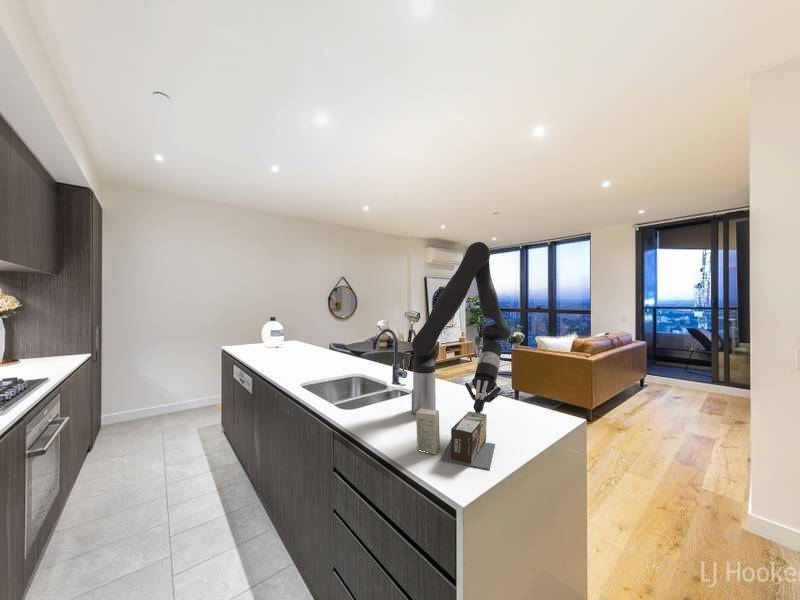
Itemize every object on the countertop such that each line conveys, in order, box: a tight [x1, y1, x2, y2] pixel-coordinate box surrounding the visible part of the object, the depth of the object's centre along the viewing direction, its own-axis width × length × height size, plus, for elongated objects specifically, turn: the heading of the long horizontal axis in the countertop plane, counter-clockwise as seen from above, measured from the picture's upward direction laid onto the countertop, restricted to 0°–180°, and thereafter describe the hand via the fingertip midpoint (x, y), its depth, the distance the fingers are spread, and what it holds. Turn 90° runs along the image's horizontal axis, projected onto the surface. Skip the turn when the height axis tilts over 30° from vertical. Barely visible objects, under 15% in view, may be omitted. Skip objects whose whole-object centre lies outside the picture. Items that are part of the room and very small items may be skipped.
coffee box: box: [450, 411, 488, 463], centre depth 98 cm, size 9×6×16 cm
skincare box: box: [415, 408, 441, 455], centre depth 99 cm, size 6×4×12 cm
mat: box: [439, 439, 496, 471], centre depth 97 cm, size 14×16×1 cm
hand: (477, 411), depth 104 cm, fingers closed
